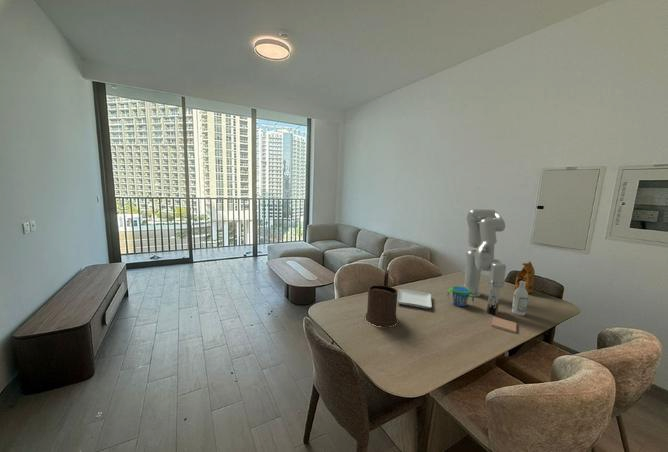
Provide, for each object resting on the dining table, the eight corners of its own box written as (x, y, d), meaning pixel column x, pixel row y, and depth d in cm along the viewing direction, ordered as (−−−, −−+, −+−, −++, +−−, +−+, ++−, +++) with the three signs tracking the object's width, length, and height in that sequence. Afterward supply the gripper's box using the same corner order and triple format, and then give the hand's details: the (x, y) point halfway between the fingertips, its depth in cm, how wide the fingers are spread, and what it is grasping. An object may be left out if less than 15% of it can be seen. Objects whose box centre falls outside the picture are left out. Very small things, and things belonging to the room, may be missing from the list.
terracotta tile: (491, 326, 141) (491, 324, 141) (493, 318, 150) (493, 316, 149) (516, 333, 135) (516, 331, 134) (516, 324, 143) (516, 322, 143)
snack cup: (471, 303, 169) (473, 288, 167) (474, 310, 159) (476, 294, 157) (446, 298, 174) (447, 284, 173) (446, 305, 164) (448, 290, 163)
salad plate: (431, 312, 156) (432, 306, 156) (395, 305, 163) (396, 300, 162) (430, 297, 176) (431, 293, 175) (398, 293, 183) (399, 288, 182)
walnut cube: (486, 312, 156) (487, 304, 156) (487, 309, 161) (488, 300, 160) (497, 315, 153) (498, 306, 152) (497, 311, 158) (499, 303, 157)
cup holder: (360, 323, 140) (363, 279, 136) (370, 305, 162) (372, 266, 158) (395, 331, 134) (399, 285, 130) (400, 310, 156) (403, 270, 152)
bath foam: (527, 314, 156) (532, 282, 152) (521, 316, 152) (526, 284, 149) (515, 309, 162) (520, 279, 159) (508, 311, 159) (513, 280, 156)
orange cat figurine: (511, 290, 193) (515, 261, 189) (519, 287, 199) (523, 259, 196) (526, 295, 184) (531, 265, 181) (534, 291, 191) (539, 263, 187)
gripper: (490, 277, 163) (486, 304, 166) (487, 286, 149) (483, 315, 152) (504, 280, 159) (500, 308, 162) (502, 289, 145) (498, 319, 148)
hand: (492, 311), depth 157 cm, fingers closed on walnut cube, 5 cm apart
